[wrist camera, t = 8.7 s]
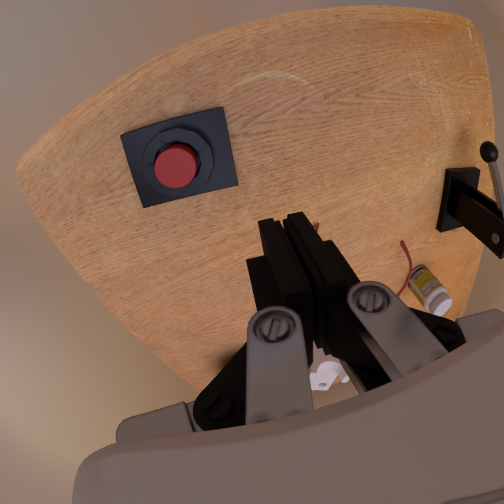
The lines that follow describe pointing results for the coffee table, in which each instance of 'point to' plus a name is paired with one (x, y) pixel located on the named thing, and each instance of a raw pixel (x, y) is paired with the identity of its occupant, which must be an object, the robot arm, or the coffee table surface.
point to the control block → (193, 136)
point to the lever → (493, 173)
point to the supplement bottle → (429, 291)
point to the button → (176, 166)
